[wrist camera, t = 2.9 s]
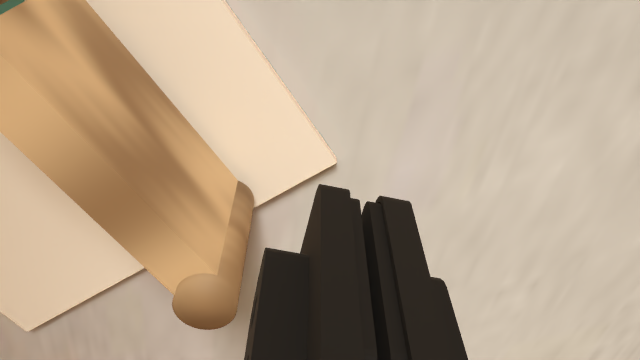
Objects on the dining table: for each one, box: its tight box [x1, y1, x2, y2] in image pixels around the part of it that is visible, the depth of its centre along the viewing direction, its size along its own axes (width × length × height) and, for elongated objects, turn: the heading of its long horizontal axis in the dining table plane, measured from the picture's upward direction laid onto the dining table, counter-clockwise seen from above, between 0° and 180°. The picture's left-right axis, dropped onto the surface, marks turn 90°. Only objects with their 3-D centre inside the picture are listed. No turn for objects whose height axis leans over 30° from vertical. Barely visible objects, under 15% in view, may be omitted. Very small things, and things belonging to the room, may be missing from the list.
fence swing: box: [0, 0, 254, 330], centre depth 16 cm, size 10×2×5 cm, turn 32°
